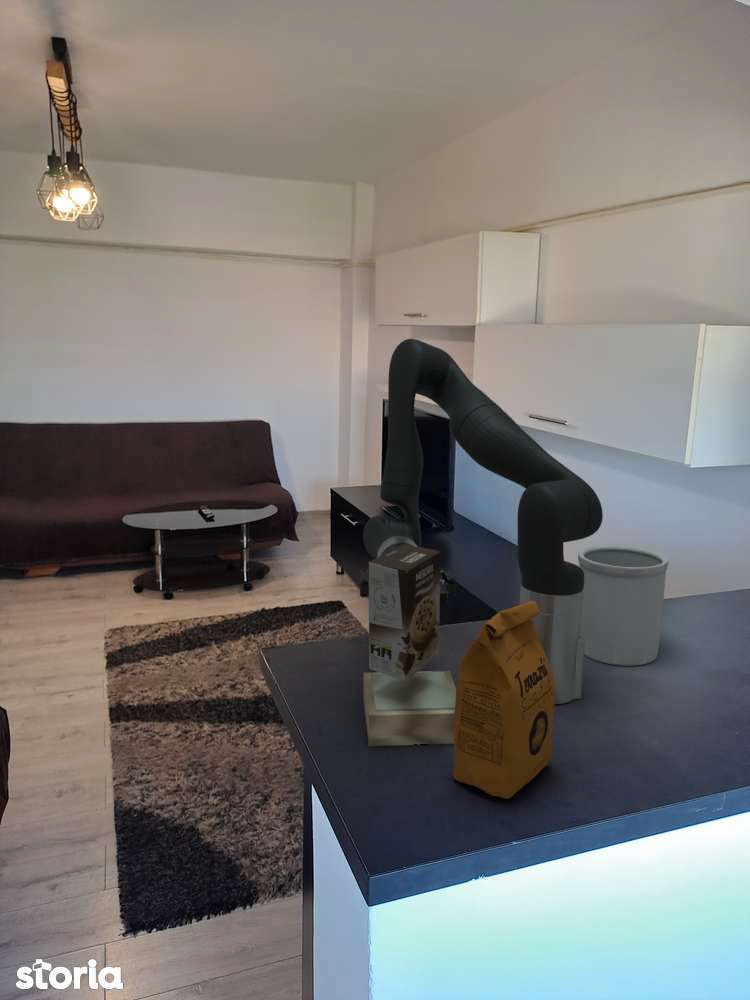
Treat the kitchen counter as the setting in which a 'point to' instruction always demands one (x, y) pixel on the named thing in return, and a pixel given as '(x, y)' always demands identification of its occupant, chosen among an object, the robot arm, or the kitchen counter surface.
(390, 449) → the robot arm
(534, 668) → the coffee package
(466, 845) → the kitchen counter surface
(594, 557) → the utensil holder
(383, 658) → the coffee box
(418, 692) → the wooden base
